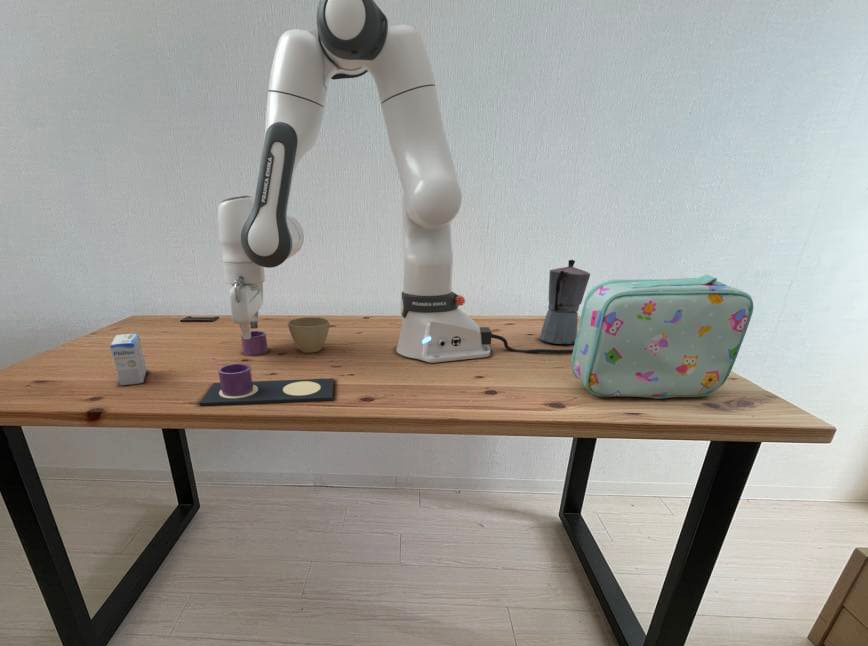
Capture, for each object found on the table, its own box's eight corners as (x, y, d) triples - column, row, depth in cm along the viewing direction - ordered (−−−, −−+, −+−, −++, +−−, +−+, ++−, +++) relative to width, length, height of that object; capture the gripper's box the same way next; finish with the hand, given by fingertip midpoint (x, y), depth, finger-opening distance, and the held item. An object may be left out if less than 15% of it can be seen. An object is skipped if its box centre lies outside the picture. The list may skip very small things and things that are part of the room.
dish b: (255, 384, 90) (252, 362, 88) (250, 395, 85) (247, 373, 83) (226, 385, 89) (222, 363, 88) (218, 397, 84) (214, 374, 82)
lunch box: (696, 380, 91) (729, 269, 82) (733, 400, 81) (774, 278, 73) (563, 381, 91) (581, 271, 82) (584, 402, 82) (607, 280, 73)
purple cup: (269, 348, 115) (267, 330, 113) (265, 355, 109) (263, 336, 108) (246, 348, 114) (243, 331, 112) (241, 355, 109) (238, 337, 107)
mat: (333, 380, 93) (333, 377, 93) (332, 400, 84) (332, 396, 84) (214, 385, 92) (213, 382, 91) (199, 405, 82) (199, 402, 82)
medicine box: (124, 373, 98) (115, 334, 95) (147, 371, 100) (138, 332, 96) (120, 386, 92) (109, 344, 88) (144, 383, 93) (134, 342, 90)
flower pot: (313, 358, 106) (311, 328, 103) (281, 352, 111) (278, 323, 108) (339, 347, 114) (337, 319, 111) (308, 342, 119) (306, 315, 116)
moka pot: (583, 336, 120) (597, 258, 112) (571, 352, 108) (585, 265, 100) (546, 332, 125) (557, 256, 117) (530, 346, 113) (541, 262, 105)
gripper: (250, 281, 95) (257, 345, 101) (265, 268, 114) (270, 322, 119) (219, 281, 94) (228, 345, 100) (239, 268, 113) (245, 323, 119)
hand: (251, 333), depth 110 cm, fingers open, 8 cm apart
